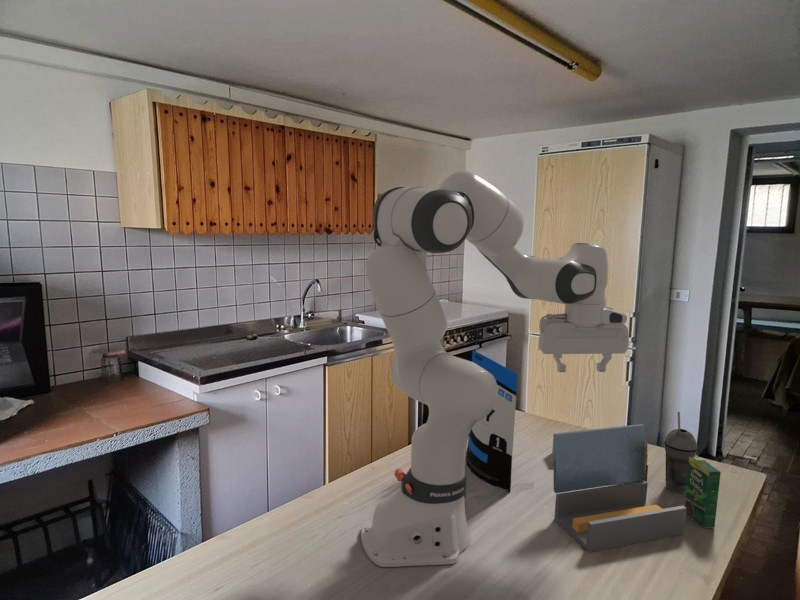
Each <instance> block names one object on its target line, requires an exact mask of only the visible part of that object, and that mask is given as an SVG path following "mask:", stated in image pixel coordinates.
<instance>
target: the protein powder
mask: <svg viewBox="0 0 800 600" xmlns="http://www.w3.org/2000/svg"><path fill="white" fill-rule="evenodd" d="M471 352H472V355H471V362H474V363H475V364H477V365H479V366H480V367H482V368H484V369H485V370H486V371H488V372H489V373H491V374H492V375H493V376H494V378H495V380H496V382H497V388H498V395H497V400H496V403H495V406H494V407H493V409H492V410H491V412H490V413H489V414H488V415H487V416H486V417H484V418H483V419H481V420H479V421H477V422H476V423H475V424H474V426H473V427H472V429H471V431H470V433H469V436H468V440H467V447H466V459H465V463H466V462H467V463H466V466H467V468H468V470H469V469H470V470H469V471H470V472H471V473H472V474H473V475H474V474H475V475H474V476H476V477H477V478H478V479H480V480H481V481H483V482H485V483H487V484H489V485H490V486H493V487H496V488H499V489H502V490H504V491H508V492H509V493H511V490H512V489H511V487H512V469H513V468H512V465H513V450H514V449H513V448H514V437H515V424H516V423H515V420H516V419H515V418H516V406H517V405H516V404H517V402H516V401H517V387H518V380H517V379H518V373H517V372H515V371H513V370H511V369H509V367H508V368H507V367H506V366H504V365H502V364H500V363H499V362H497V361H494V360H493V359H491V358H490V357H488V356H485V355H484V354H482V353H480V352H478V351H477V350H474V349H472V351H471Z"/></svg>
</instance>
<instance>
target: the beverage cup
mask: <svg viewBox="0 0 800 600" xmlns="http://www.w3.org/2000/svg"><path fill="white" fill-rule="evenodd" d="M663 443H664V449H665V488H666V489H667V490H668V491H669V492H673V493H676V494H686V486H687V475H688V463H689V457H696V454H697V450H698V444H697V440H696V437H695V436H694V435H693V433H691V432H690V431H688V430H687V429H683V428H681V412H680V411H677V428H676V429H675V428H674V429H672V430H670V431H669V432H668V433H667V435H666V437H665V439H664V441H663Z"/></svg>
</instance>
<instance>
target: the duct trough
mask: <svg viewBox="0 0 800 600" xmlns="http://www.w3.org/2000/svg"><path fill="white" fill-rule="evenodd" d="M648 485H649V484H648V481H647V482H646V481H640V482H636V481H635V482H628V483H621V484H615V485H608V486H601V487H595V488H588V489H581V490H575V491H568V492H561V493H555V504H554V515H553V516H554V517H553V519H554V521H556V523H557V524H559V526H560V527H562V528H563V529H564V530H565V531H566V532H567V533H568V534H569V535H570V536H571V537H572V538H573V539H574V540H575V541H577V543H579V545H580V546H582V548H583V549H585V550H586V551H587V552H588V553H593V552H598V551H602V550H607V549H613V548H619V547H623V546H628V545H633V544H638V543H644V542H649V541H655V540H660V539H664V538H670V537H675V536H681V535H684V533H685V524H686V517H687V511H686V510H687V508H686V507H685V505H677V506H672V507H667V508H662V509H660V510H654V511H648V512H642V513H636V514H631V515H625V516H619V517H613V518H607V519H602V520H596V521H590V522H588V528H587V531H584V532H577V531H576V530H575V529H574V528H573V527H572V523H573V518H579V517H585V516H591V515H596V514H602V513H608V512H614V511H620V510H626V509H632V508H638V507H644V506H650V505H651V504H648V503H647V494H648Z"/></svg>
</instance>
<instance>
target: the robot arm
mask: <svg viewBox="0 0 800 600" xmlns="http://www.w3.org/2000/svg"><path fill="white" fill-rule="evenodd" d="M372 223H373V239H374V242H375V243H376V245H377V246H378V247H376V248H375V249H374V250H373V251H372V252H371V253H369V255H368V257H367V259H366V261H365V273H366V278H367V281H368V284H369V289H370V292H371V295H372V297H373V300H374V304H375V306H376V308H377V310H378V313H379V315H380V317H381V319H382V321H383V324H384V326H385V328H386V330H387V332H388V335H389V338H390V340H391V342H392V345H393V349H394V354H395V355H394V358H393V360H392V362H391V366H390V378H391V380H392V383H393V384H394V385H395V386H396V388H397V389H399V390H400V391H401V392H403V394H405V395H406V397H408V398H411V399H413V400H415V401H417V402H420V403H422V404H424V405H426V406H427V407H428V417H427V421H426V423H423V424H422V425H420V426H419V427H417V429H415V431H414V432H413V434H412V437H411V449H410V451H411V452H410V468H409V469H408V471H407V472H406V473H405V471H404V470H403V468H401V467H400V468H397V469H395V471H394V473H393V474H394V477H395V478H396V480H397V481H398V482H400V485H401V486H400V487H399V488H397V489H396V490H395V491H394V492H392V493H391V494H390V495H388V496H387V497H386V498H384V499H383V500H382V501H380V502H378V504H377V505H376V507H375V509H374V512H373V516H372V520H370V521H368V522H365V523H363V525H362V528H361V533H360V540H361V545H362V548H363V550H364V552H365V554H366V555H367V557H368V558H369V559H370V561H372V563H373V564H375V565H377V566H378V567H381V568H395V567H416V566H418V567H419V566H435V565H436V566H440V565H442V566H443V565H454V564H456V563H457V562H458V560H459V557H460V554H461V553H462V552H463V551H464V550H465V549H467V547H468V545H469V543H470V541H471V540H470V539H471V536H470V532H469V529H468V523H467V517H466V516H467V515H466V508H465V504H466V503H465V498H466V496H467V487H468V483H467V480H468V479H467V471H466V470H465V469H466V452H467V446H468V437H469V433H470V431H471V429H472V427H473V426H474V424H475V423H476V422H477V421H479V420H481V419H483V418H484V417H486V416H487V415H488V414H489V413H490V412H491V410H492V409H493V407H494V406H495V403H496V400H497V395H498V388H497V382H496V380H495V378H494V376H493V375H492V374H491V373H489V372H488V371H486V370H485V369H484V368H482V367H480V366H479V365H477V364H475V363H474V362H472V360H471V361H470V360H467V359H464V358H461V357H458V356H454V355H452V354H450V353H448V352H447V351H446V349H444V347H443V345H442V342H441V340H442V339H443V337H444V335H445V334H446V332H447V330H448V319H447V317H446V315H445V312H444V310H443V307H442V305H441V302H440V299H439V297H438V294H437V291H436V289H435V286H434V285H433V282H432V280H431V278H430V276H429V274H428V268H427V253H431V254H444V253H449V252H452V251H454V250H456V249H458V248H459V247H460V246H461V245H462V244H463V243H464V242H465V240H466V241H468V242H469V243H470V244H472V245H473V246H474V247H476V249H477V250H478V252H479V253H480V255H482V256H483V257H484V258H485V259H486V260H487V261H488V262H490V264H491V265H493V266H494V268H496V269H497V270H498V271H499V272H500V273H501V274H502V275H503V276H504V278H505V280H506V281H507V283H508V285H509V287H510V289H511V290H512V291H513V292H512V293H514V294H515V295H516V296H517V297H519V298H522V299H526V300H527V299H529V300H539V301H543V302H549V303H555V304H562V305H564V313H556V314H555V313H547V314H545V315H544V316H542V317H541V318H540V320H539V331H540V332H539V336H538V345H537V346H538V350H540V352H541V353H543V354H545V355H552V356H553V357H552V358H554V361H555V362H556V369H557V372H558V373H566V371H567V370H566V369H567V365H566V363H564V362H562V361H561V359H563V355H570V354H571V355H585V354H586V355H588V354H589V355H591V354H593V355H596V354H601V356H602V359H601V361H600V362H596V371H597V372H599V373H601V372H602V373H603V372H605V373H606V371H607V370H606V369H607V365H608V364H609V363H610V361H611V360H612V354H613V355H614V354H625V353H626V352H627V351H628V350H629V344H630V341H629V339H630V338H629V328H628V327H627V325H626V323H627V320H628V316H627V315H626V314H625V313H624V312H621V311H619V310H616V309H613V308H612V307H609V306H607V299H606V298H607V297H606V288H607V285H608V277H609V261H608V259H609V258H608V252H607V249H606V248H605V247H603V246H601V245H598V244H595V243H586V242H576V243H573V244H571V246H570V250H569V251H568V252H567V253H566V254H564V255H562V256H561V257H558V258H548V257H537V256H532V255H527V254H526V255H525V254H523V253H522V252H521V251H520V250H519V249H518V248H517V247H516V246H517V244H518V242H519V240H520V239H521V237H522V234H523V232H524V225H525V224H524V223H525V222H524V216H523V213H522V212H521V211H520V209H519V208H518V207H517V205H516V204H515V203H514V202H513V201H512V200H511V199H510V198H509V197H508V196H506V195H505V194H504V193H503V192H502V191H501V190H500V189H498V188H497V187H496V186H494V185H493V184H492V183H490V182H488V181H487V180H486V179H485V178H483V177H481V176H480V175H477V174H475V173H474V172H472V171H469V170H459V171H456V172H454V173H451V174H450V175H449V176H448V177H446V178H445V179H444V180H443V181H442V183H441V184H440V186H439V187H438V189H436V188H428V187H424V186H406V187H405V186H397V187H394V188H391V189H388V190H386V191H384V192H383V193H382V194H380V196H378V198H377V199H376V201H375V203H374V206H373V210H372Z"/></svg>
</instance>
